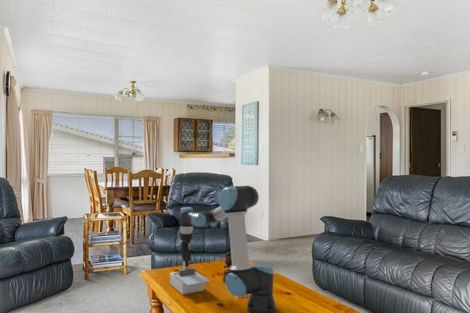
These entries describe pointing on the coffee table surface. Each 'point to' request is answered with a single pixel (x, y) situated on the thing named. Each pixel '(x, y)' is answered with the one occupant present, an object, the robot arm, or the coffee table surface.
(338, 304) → the coffee table surface
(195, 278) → the lid
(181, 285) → the box
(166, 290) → the coffee table surface
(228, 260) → the music box
